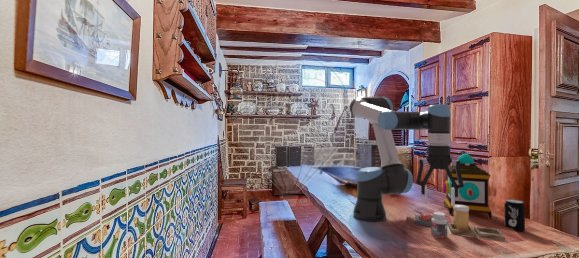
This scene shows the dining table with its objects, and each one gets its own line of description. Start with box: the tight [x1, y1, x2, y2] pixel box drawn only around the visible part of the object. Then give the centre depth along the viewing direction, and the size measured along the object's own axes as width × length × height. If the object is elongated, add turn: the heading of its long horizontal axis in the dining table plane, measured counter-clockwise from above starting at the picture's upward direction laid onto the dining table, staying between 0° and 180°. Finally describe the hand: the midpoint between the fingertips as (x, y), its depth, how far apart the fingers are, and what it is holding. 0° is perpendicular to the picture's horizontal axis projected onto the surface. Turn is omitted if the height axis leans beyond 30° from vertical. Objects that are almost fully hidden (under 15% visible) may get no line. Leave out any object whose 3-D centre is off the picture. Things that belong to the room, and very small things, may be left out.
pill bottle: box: [430, 211, 448, 240], centre depth 101 cm, size 5×5×10 cm
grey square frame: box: [414, 214, 434, 228], centre depth 116 cm, size 8×8×3 cm
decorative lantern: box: [442, 153, 493, 220], centre depth 136 cm, size 20×20×30 cm
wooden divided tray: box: [447, 222, 508, 243], centre depth 104 cm, size 18×10×3 cm, turn 66°
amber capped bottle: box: [453, 205, 470, 231], centre depth 106 cm, size 5×5×10 cm
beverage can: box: [503, 198, 526, 233], centre depth 112 cm, size 7×7×12 cm
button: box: [419, 212, 432, 221], centre depth 116 cm, size 4×4×4 cm
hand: (439, 204), depth 102 cm, fingers open, 8 cm apart
